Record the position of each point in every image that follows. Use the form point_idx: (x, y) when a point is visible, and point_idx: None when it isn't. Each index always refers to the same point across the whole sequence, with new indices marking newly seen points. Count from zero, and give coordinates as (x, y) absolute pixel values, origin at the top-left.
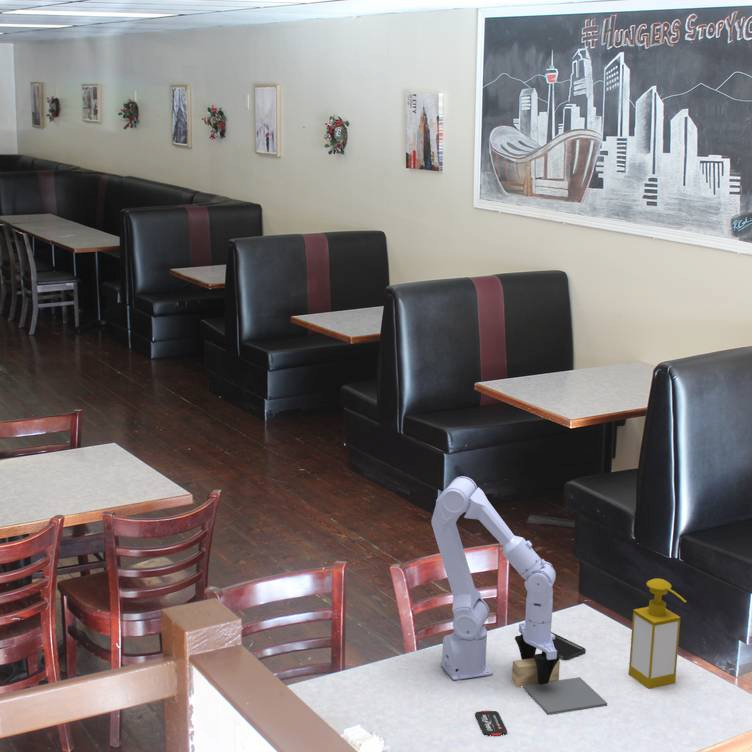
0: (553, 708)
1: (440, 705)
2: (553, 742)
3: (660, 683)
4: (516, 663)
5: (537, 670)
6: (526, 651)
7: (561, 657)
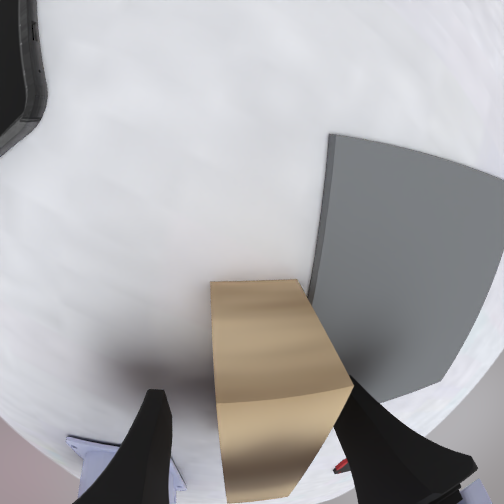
0: (441, 366)
1: None
2: (481, 375)
3: None
4: (254, 500)
5: (353, 463)
6: (163, 494)
7: (21, 131)
